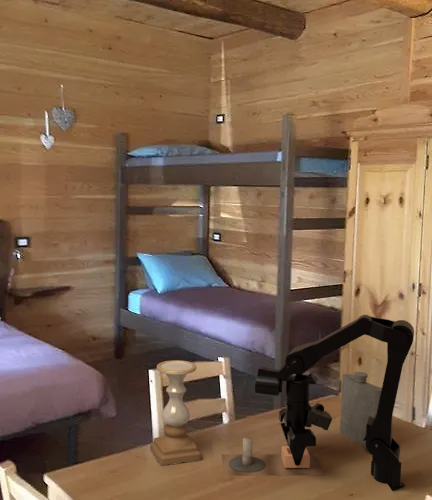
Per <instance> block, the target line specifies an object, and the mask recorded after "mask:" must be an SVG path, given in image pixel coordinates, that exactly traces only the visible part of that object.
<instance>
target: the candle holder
mask: <svg viewBox="0 0 432 500" xmlns="http://www.w3.org/2000/svg"><path fill="white" fill-rule="evenodd" d="M156 370H157V371H158V372H159V373H161V374H165V376H166V377H167V378H168V381H169V384H168V386H167V387H166V389H165V391H166V393H167V395H168V397H169V399H168V402H167V404H166V405H165V407H164V408H163V410H162V412H161V420H162V421H163V422H164V424H165V426H164V427H163V432H164V435H163V436H158V437H154V438H153V441H151V442H150V444H149V446H150V447H149V450H151V451H150V452H151V454H152V453H153V454H152V455H153V457H154V456H155V457H154V458H155V460H156V459H157V460H156V462H159V463H160V464H159V463H158V464H159V465H160V466H161V465H165V466H169V465H168V464H173V465H175V464H174V463H180V464H183V463H182V462H187V463H191V462H190V461H195V462H199V461H198V460H200V461H201V460H202V452H201V451H200V450H199V449H198V445H197V444H196V442H195V441H194V440H193V439H192V438H191V437H190V436H189V435H188V434H187V433H188V426H187V425H186V424H187V423H188V422H189V421H190V419H191V418H190V417H191V413H190V411H189V408H188V407H187V405H186V404H185V402H184V399H183V397H184V394H185V393H186V392H187V388H186V387H185V384H184V380H185V378H186V376H187V375H189V374H192V373H194V372H195V371H196V370H197V365H196V364H195V363H194V362H191V361H187V360H181V359H178V360H177V359H176V360H174V359H173V360H165V361H161V362H159V363H158V364H156Z"/></svg>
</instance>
